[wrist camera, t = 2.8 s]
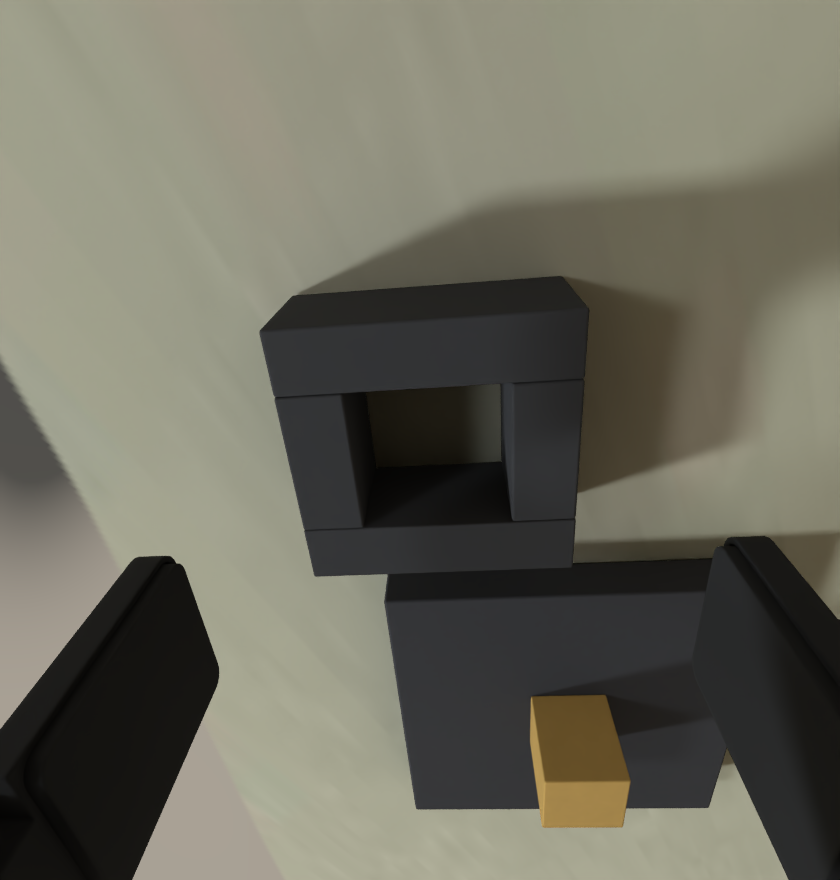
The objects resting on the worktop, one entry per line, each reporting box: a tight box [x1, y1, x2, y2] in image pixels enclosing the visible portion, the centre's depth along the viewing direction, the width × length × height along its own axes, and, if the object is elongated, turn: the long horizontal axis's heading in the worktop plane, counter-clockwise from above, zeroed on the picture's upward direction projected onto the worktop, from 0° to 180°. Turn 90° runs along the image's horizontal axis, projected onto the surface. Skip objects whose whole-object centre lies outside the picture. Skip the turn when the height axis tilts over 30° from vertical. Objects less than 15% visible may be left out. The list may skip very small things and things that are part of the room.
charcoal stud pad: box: [384, 559, 727, 828], centre depth 19 cm, size 12×12×4 cm
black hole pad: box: [260, 276, 589, 576], centre depth 15 cm, size 7×7×3 cm
